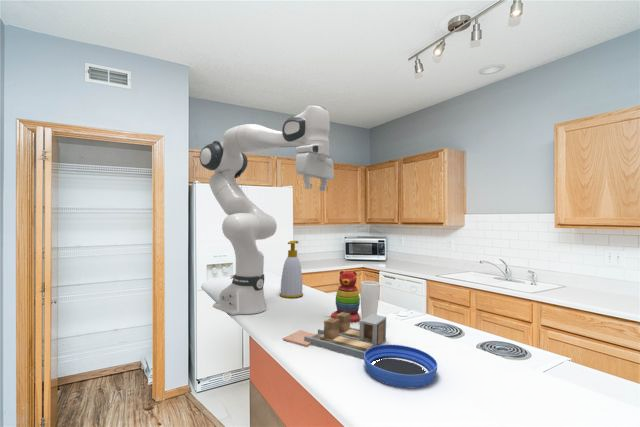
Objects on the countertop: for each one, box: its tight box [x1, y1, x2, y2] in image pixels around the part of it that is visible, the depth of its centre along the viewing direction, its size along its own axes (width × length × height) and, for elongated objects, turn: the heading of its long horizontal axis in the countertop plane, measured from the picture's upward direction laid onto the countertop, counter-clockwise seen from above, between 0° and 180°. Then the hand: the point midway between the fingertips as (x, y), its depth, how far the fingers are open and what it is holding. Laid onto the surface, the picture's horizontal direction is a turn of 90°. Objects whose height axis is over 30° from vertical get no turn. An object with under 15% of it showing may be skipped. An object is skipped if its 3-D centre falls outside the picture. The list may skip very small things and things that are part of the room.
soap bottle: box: [279, 240, 304, 299], centre depth 159 cm, size 11×12×26 cm
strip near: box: [319, 317, 374, 352], centre depth 98 cm, size 16×4×6 cm, turn 58°
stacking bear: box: [330, 270, 361, 323], centre depth 127 cm, size 11×10×18 cm
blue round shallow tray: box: [363, 344, 438, 388], centre depth 84 cm, size 18×18×4 cm
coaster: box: [282, 330, 320, 348], centre depth 103 cm, size 9×9×1 cm
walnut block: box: [364, 322, 384, 341], centre depth 101 cm, size 6×4×4 cm
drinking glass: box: [359, 280, 380, 320], centre depth 120 cm, size 7×7×15 cm
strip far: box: [336, 312, 383, 345], centre depth 104 cm, size 16×4×6 cm, turn 58°
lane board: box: [304, 314, 387, 360], centre depth 102 cm, size 20×16×8 cm
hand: (315, 190), depth 117 cm, fingers open, 8 cm apart
